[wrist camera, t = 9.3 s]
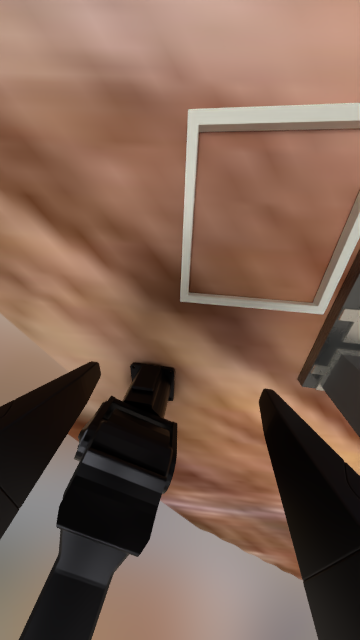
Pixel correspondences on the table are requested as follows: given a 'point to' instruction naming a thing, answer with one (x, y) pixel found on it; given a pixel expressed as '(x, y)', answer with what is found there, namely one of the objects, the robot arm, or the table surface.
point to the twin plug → (346, 389)
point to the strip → (336, 333)
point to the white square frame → (267, 121)
